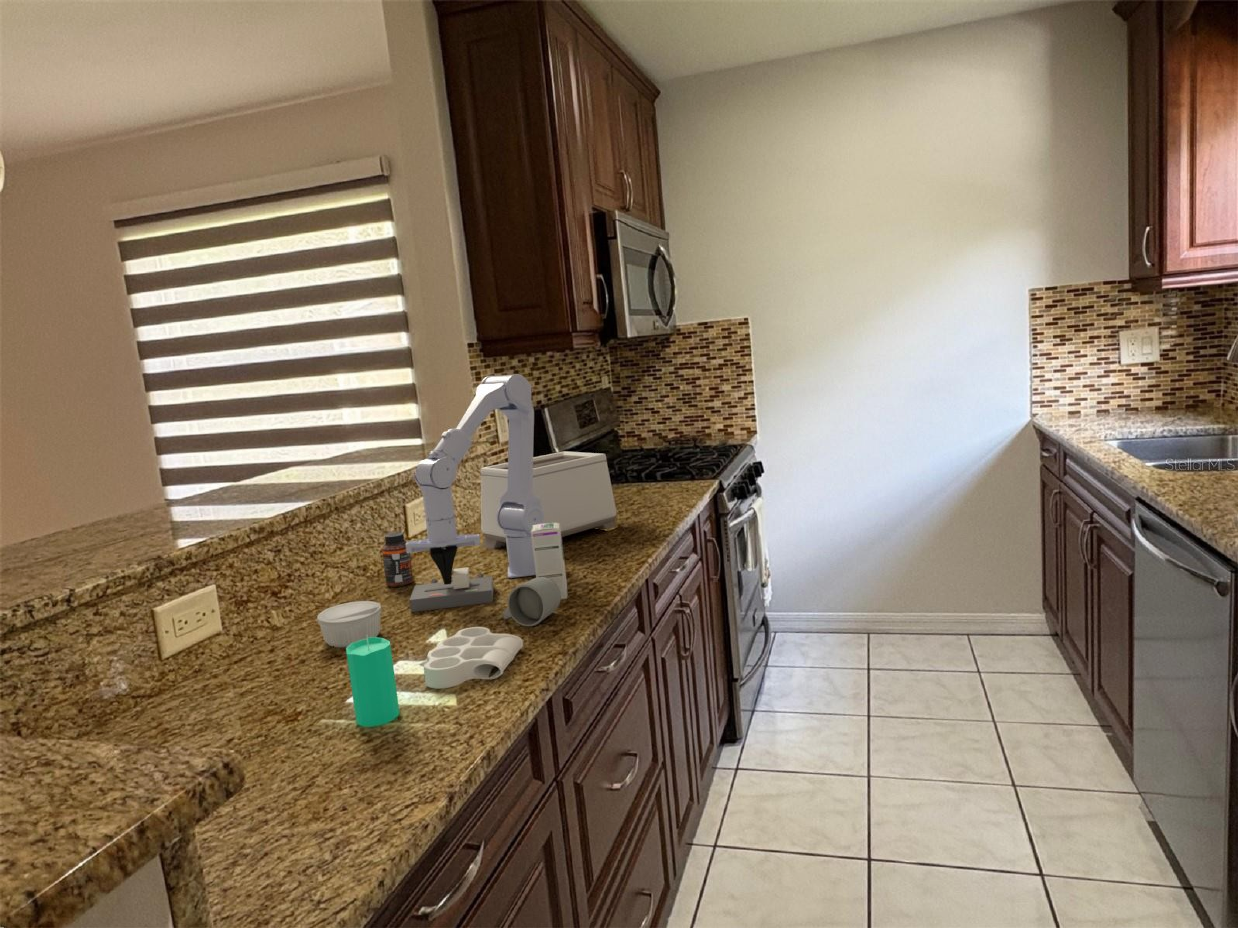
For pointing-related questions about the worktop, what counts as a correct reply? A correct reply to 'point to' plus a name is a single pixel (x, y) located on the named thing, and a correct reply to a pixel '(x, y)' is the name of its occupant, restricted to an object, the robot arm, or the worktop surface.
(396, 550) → the supplement bottle
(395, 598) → the worktop surface
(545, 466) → the toaster
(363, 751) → the worktop surface
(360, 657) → the candle
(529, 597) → the ceramic mug
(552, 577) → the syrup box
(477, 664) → the white multi-cup tray
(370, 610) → the ramekin
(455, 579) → the breaker knob
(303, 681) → the worktop surface
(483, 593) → the panel
